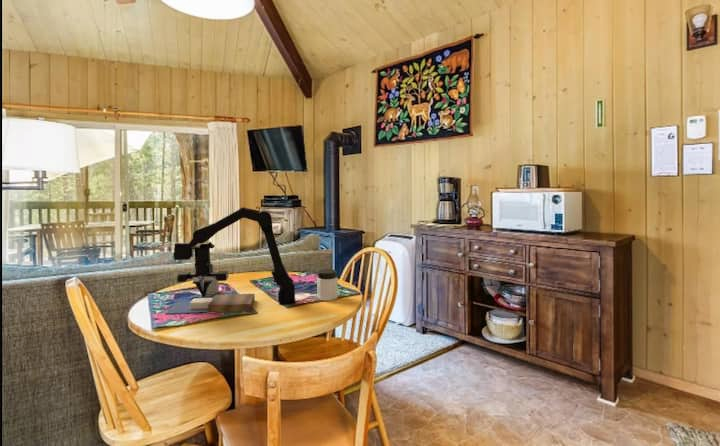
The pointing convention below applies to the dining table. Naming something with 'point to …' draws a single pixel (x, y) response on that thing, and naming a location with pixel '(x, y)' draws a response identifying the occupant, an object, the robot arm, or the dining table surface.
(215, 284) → the cup
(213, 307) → the cutting board
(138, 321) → the dining table surface
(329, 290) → the jar
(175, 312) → the felt mat
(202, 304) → the beige flat block
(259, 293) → the dining table surface
